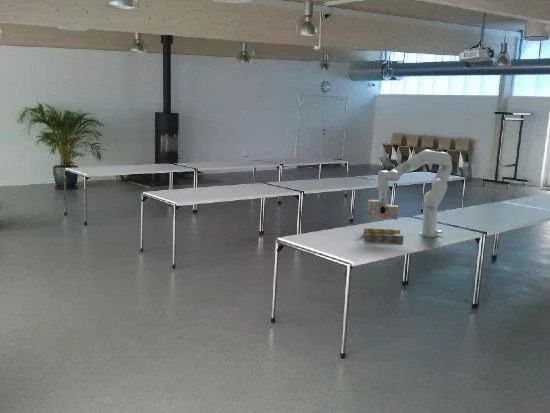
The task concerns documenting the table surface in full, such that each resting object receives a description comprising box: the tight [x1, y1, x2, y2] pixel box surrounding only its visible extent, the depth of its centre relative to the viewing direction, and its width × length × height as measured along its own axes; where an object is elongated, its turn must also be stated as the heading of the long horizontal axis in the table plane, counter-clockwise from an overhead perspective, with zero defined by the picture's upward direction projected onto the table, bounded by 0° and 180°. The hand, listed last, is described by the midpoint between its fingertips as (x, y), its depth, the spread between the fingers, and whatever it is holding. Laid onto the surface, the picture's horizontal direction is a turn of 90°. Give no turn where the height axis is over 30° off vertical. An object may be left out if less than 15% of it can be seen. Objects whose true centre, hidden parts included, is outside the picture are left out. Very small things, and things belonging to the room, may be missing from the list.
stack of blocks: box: [366, 199, 400, 220], centre depth 387 cm, size 21×6×12 cm, turn 65°
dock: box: [363, 227, 404, 244], centre depth 370 cm, size 25×19×5 cm
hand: (382, 212), depth 387 cm, fingers closed on stack of blocks, 7 cm apart
